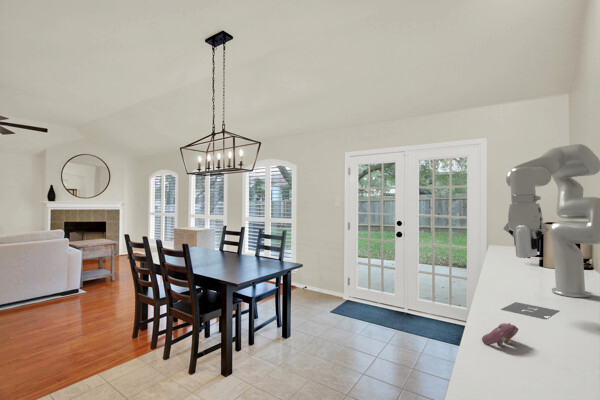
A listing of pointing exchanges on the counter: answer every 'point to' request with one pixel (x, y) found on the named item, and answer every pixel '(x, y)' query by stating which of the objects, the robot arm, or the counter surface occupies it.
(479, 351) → the counter surface
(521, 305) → the dark gray panel
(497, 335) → the video game controller
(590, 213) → the robot arm
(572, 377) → the counter surface
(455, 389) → the counter surface
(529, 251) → the photo printer
